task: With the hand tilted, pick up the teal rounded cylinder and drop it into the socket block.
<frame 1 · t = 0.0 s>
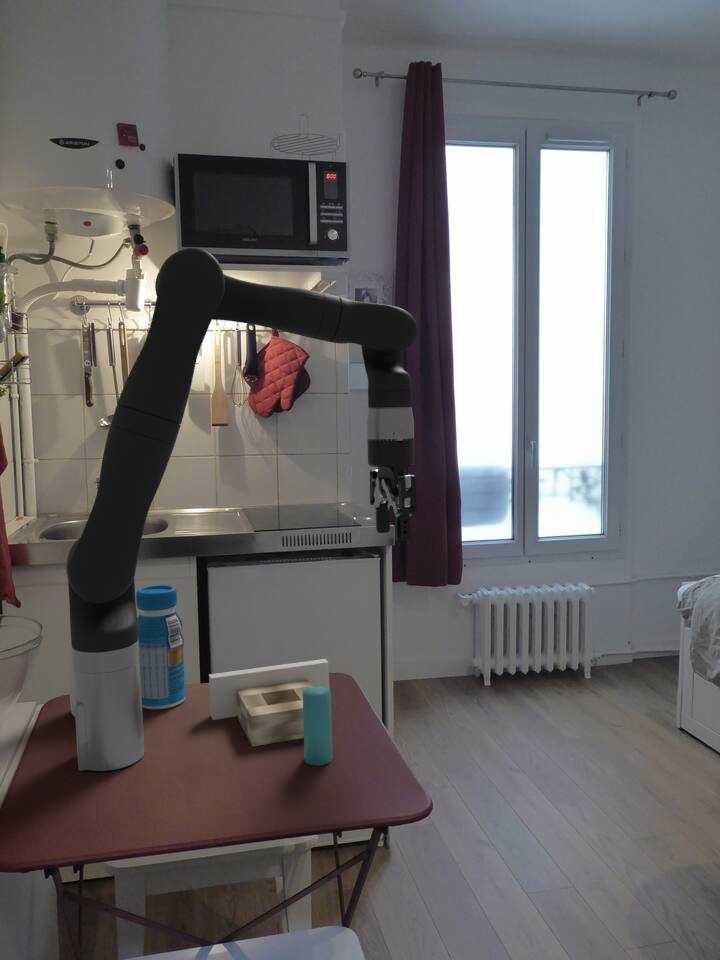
hand: (392, 536, 128), 29 cm above the table, tool pointing down, fingers open, 8 cm apart
backstop wall: (271, 708, 133), on the table
beverage bottle: (161, 702, 137), on the table
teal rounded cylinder: (318, 759, 113), on the table
socket block: (281, 727, 126), on the table
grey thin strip: (95, 712, 134), on the table
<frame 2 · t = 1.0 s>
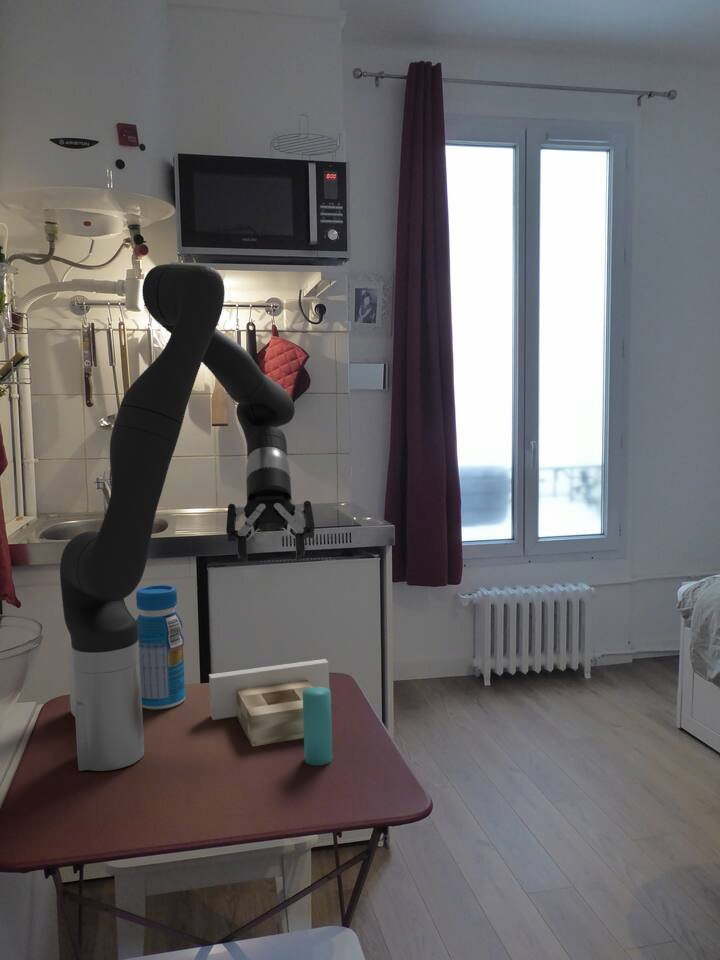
hand: (272, 558, 126), 27 cm above the table, tool tilted 45°, fingers open, 8 cm apart
nothing on the table moved.
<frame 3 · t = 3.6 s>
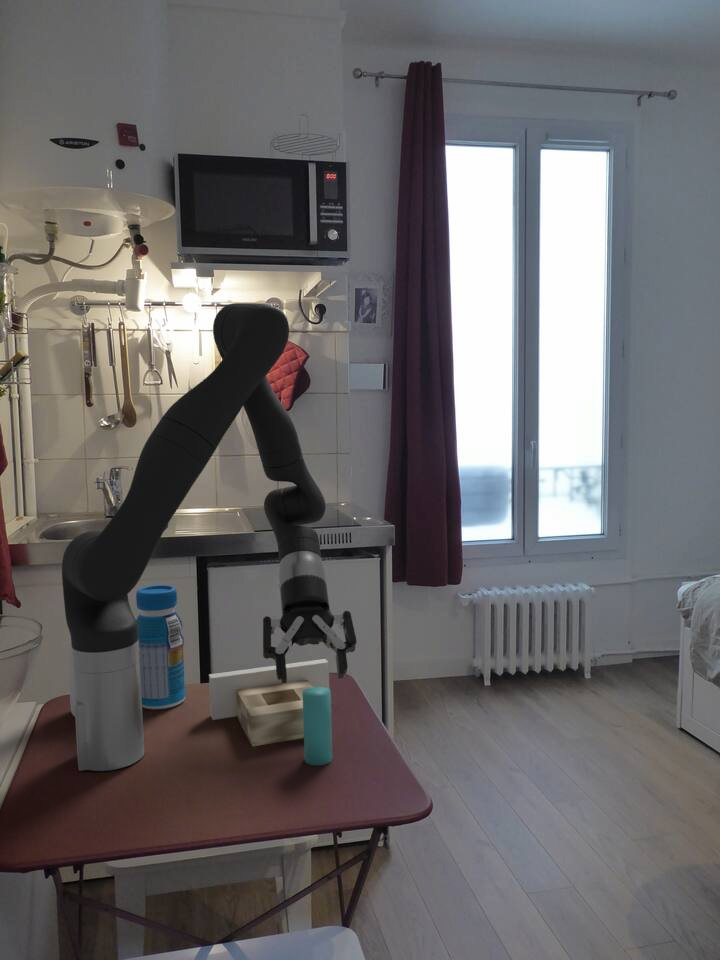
hand: (313, 678, 118), 10 cm above the table, tool tilted 45°, fingers open, 8 cm apart
nothing on the table moved.
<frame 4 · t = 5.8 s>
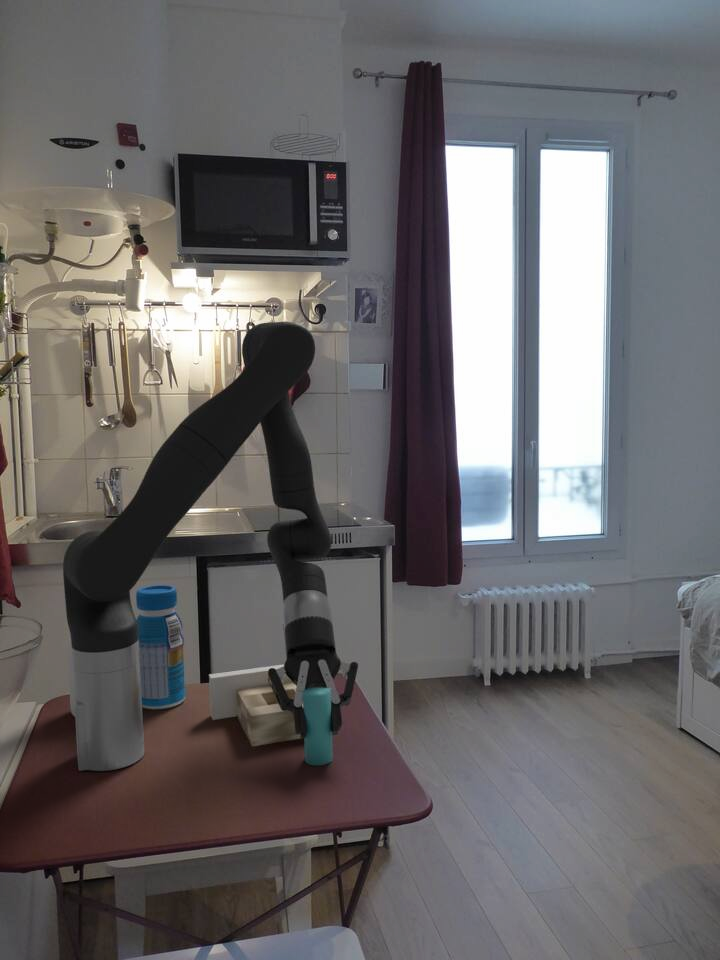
hand: (319, 733, 111), 5 cm above the table, tool tilted 45°, fingers closed on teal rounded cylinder, 4 cm apart
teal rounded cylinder: (318, 759, 113), on the table, touching gripper
everything else where it was.
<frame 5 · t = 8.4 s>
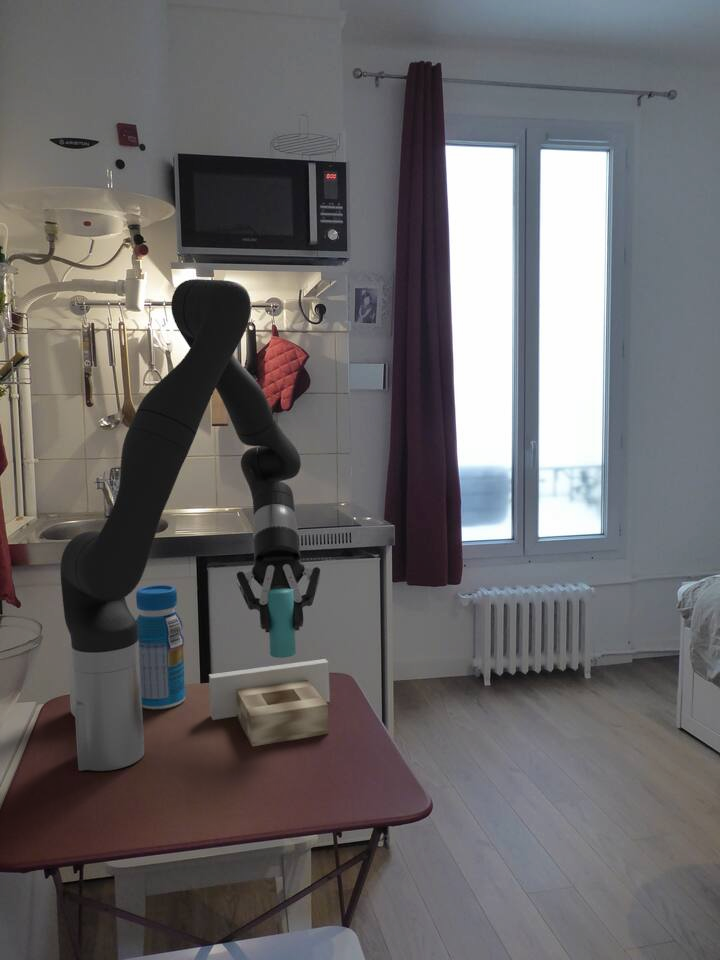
hand: (282, 628, 121), 17 cm above the table, tool tilted 45°, fingers closed on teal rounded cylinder, 4 cm apart
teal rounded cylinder: (282, 653, 124), point 12 cm above the table, touching gripper
everything else where it was.
when the fingers open (8 cm above the table, at t = 11.0 s): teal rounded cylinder drops 3 cm, resting on socket block.
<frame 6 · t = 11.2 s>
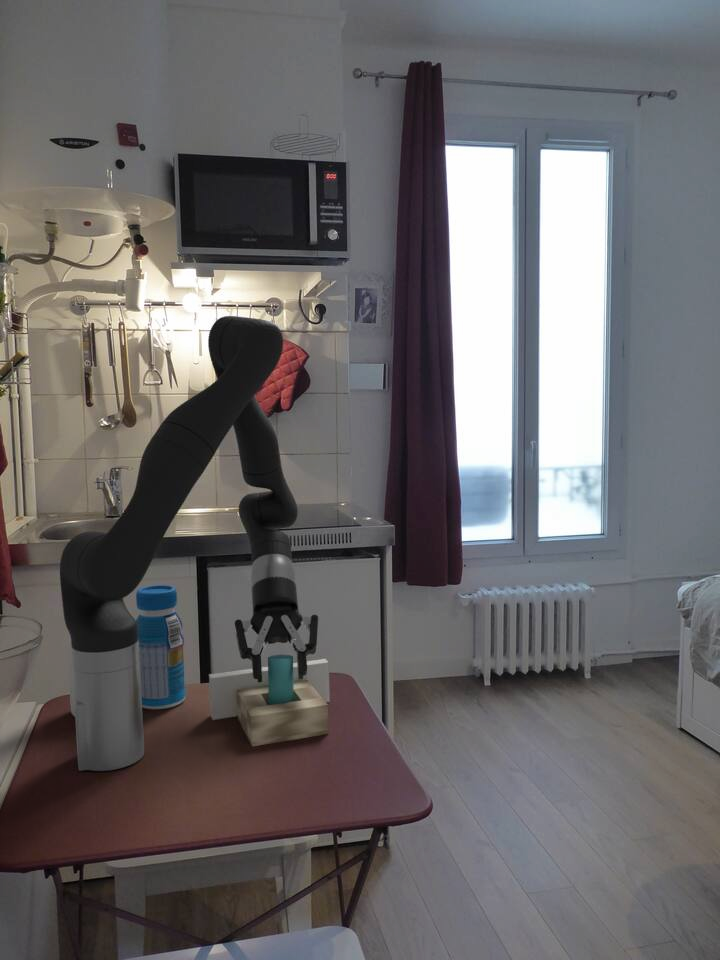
hand: (280, 678, 124), 8 cm above the table, tool tilted 45°, fingers open, 6 cm apart
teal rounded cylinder: (281, 720, 126), point 1 cm above the table, tilted 6°, touching socket block
socket block: (281, 727, 126), on the table, touching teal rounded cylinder
everything else where it was.
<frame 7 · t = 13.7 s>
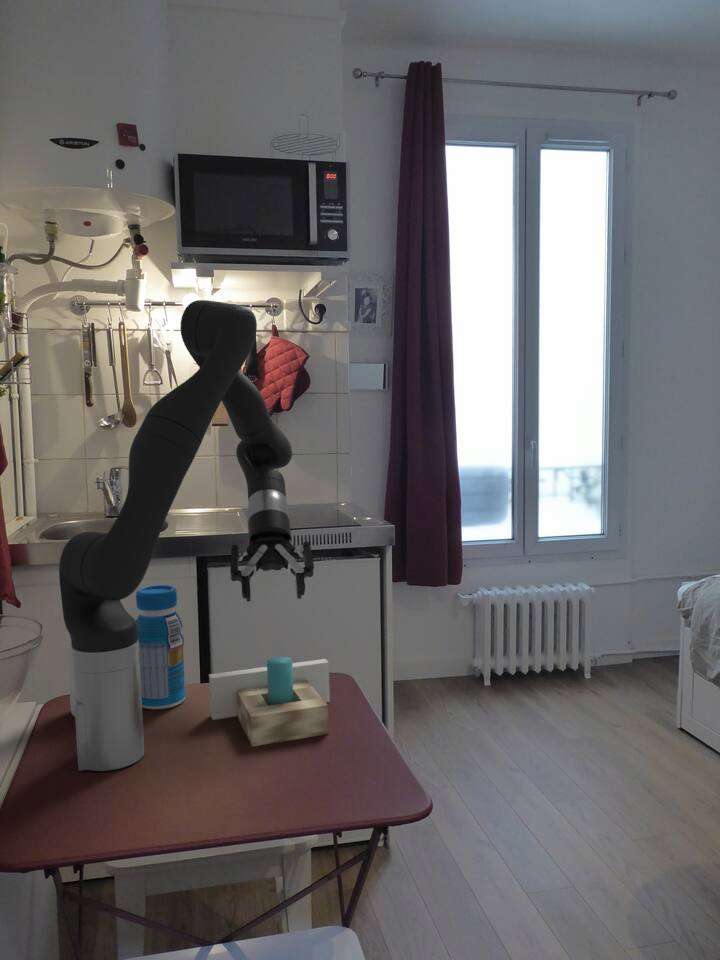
hand: (274, 597, 133), 19 cm above the table, tool tilted 45°, fingers open, 8 cm apart
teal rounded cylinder: (281, 721, 126), point 1 cm above the table, touching socket block
everything else where it was.
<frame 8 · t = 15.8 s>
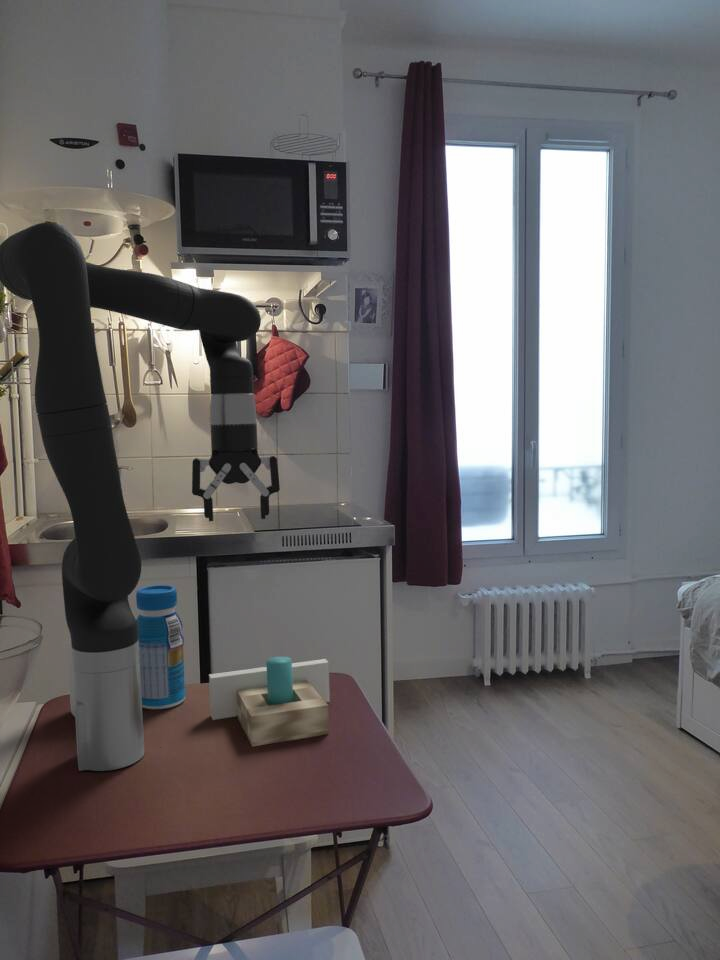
hand: (237, 519, 131), 32 cm above the table, tool pointing down, fingers open, 8 cm apart
nothing on the table moved.
at the end: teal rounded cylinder 0.1 cm off-centre on the socket block, point 1.0 cm above the socket block's base; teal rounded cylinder tilted 1°; socket block moved 0.4 cm from its start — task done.
